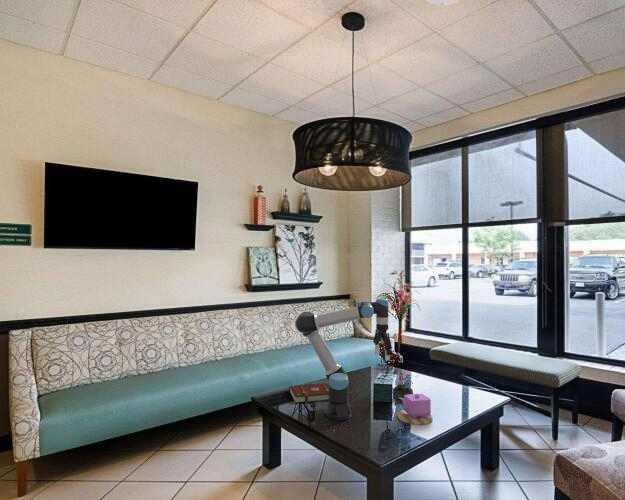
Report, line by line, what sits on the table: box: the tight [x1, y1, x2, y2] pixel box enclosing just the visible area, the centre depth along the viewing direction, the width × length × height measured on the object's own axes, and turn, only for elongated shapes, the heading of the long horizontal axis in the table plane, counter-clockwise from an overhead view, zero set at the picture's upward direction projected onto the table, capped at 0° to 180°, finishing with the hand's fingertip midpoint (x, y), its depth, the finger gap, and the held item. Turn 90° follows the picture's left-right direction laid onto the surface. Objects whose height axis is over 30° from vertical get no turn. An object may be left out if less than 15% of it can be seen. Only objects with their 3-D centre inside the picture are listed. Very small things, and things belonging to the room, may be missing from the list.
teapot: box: [398, 393, 432, 419], centre depth 225 cm, size 20×10×12 cm, turn 102°
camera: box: [392, 382, 414, 401], centre depth 256 cm, size 13×10×10 cm
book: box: [289, 382, 329, 404], centre depth 262 cm, size 23×32×5 cm
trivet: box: [397, 409, 433, 426], centre depth 225 cm, size 20×20×1 cm
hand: (382, 357), depth 239 cm, fingers open, 13 cm apart
